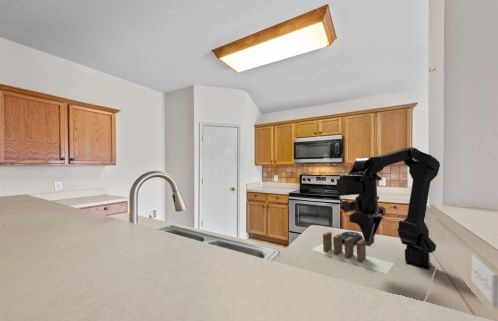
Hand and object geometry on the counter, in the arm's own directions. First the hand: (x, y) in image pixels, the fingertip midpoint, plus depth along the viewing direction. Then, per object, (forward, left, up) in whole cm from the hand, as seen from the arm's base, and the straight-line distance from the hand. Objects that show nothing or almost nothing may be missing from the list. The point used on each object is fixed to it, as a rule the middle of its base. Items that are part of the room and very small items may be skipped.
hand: (369, 239), depth 71 cm
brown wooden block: (+5, -7, -11) cm, 14 cm away
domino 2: (+14, -7, -11) cm, 19 cm away
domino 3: (+10, -7, -11) cm, 16 cm away
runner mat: (+10, -7, -11) cm, 16 cm away
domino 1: (+19, -7, -11) cm, 23 cm away
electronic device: (+17, -26, -12) cm, 33 cm away
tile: (0, 0, -2) cm, 2 cm away
